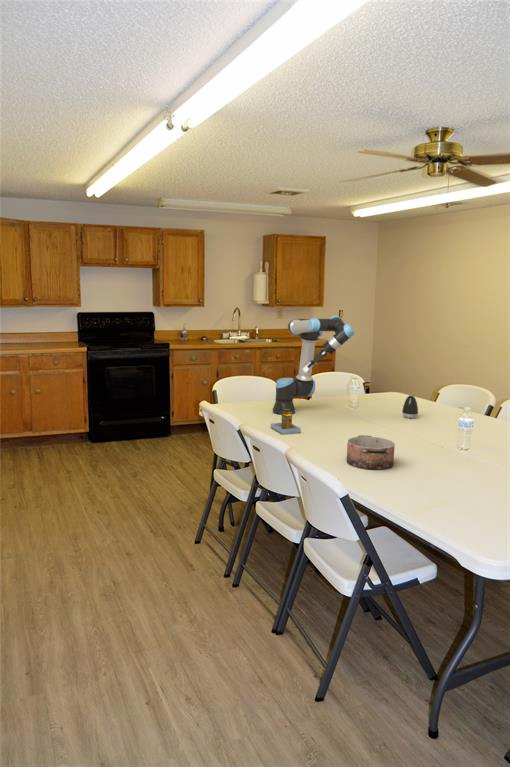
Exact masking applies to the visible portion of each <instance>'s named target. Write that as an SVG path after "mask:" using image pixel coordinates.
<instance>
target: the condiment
mask: <svg viewBox="0 0 510 767" xmlns="http://www.w3.org/2000/svg"><path fill="white" fill-rule="evenodd" d="M291 411H292V410H291V409H283V413H282V415H281V423H282V424H281V429H291V428H292V424H293V422H292V421H293V414H291V413H292V412H291Z"/></svg>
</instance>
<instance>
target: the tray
mask: <svg viewBox="0 0 510 767" xmlns="http://www.w3.org/2000/svg"><path fill="white" fill-rule="evenodd" d="M281 424H282V422H276V423H275V422H274V423H273V422H272V423H270V429H271V428H272V429H273V431H274V430H275V431H274V432H276V433H278V434H279V433H280V434H279V435H280V436H281V435H282V436H283V435H294V434H295V435H296V434H297V435H298V434H301V433H302V432H301V430H302V429H301V427H299V426H297V425H295V424H293V423H292V428H291V429H281ZM272 429H271V430H272Z"/></svg>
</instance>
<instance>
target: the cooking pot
mask: <svg viewBox="0 0 510 767" xmlns="http://www.w3.org/2000/svg"><path fill="white" fill-rule="evenodd" d="M346 447H347V448H346V463H347V464H348V465H349V466H351V467H353V468H357V469H361V470H367V471H368V470H369V471H384V470H388V469H389V470H390V469H391V468H392V467H393V466H394V460H395V442H394V441H392V440H390V439H386V438H384V437H378V436H371V435H358V436H354V437H350V438H348V439H347V444H346Z"/></svg>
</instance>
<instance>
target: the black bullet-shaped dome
mask: <svg viewBox="0 0 510 767" xmlns="http://www.w3.org/2000/svg"><path fill="white" fill-rule="evenodd" d="M401 412H402V416H403V417H404V418H405V417H407V418H406V419H408V418H413V419H415V418H417V416H418V414H419V407H418V402H417V399H416V398H415V396H414V395H408V396H407V397H406V398H405V401H404V404H403V406H402V411H401Z"/></svg>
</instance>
